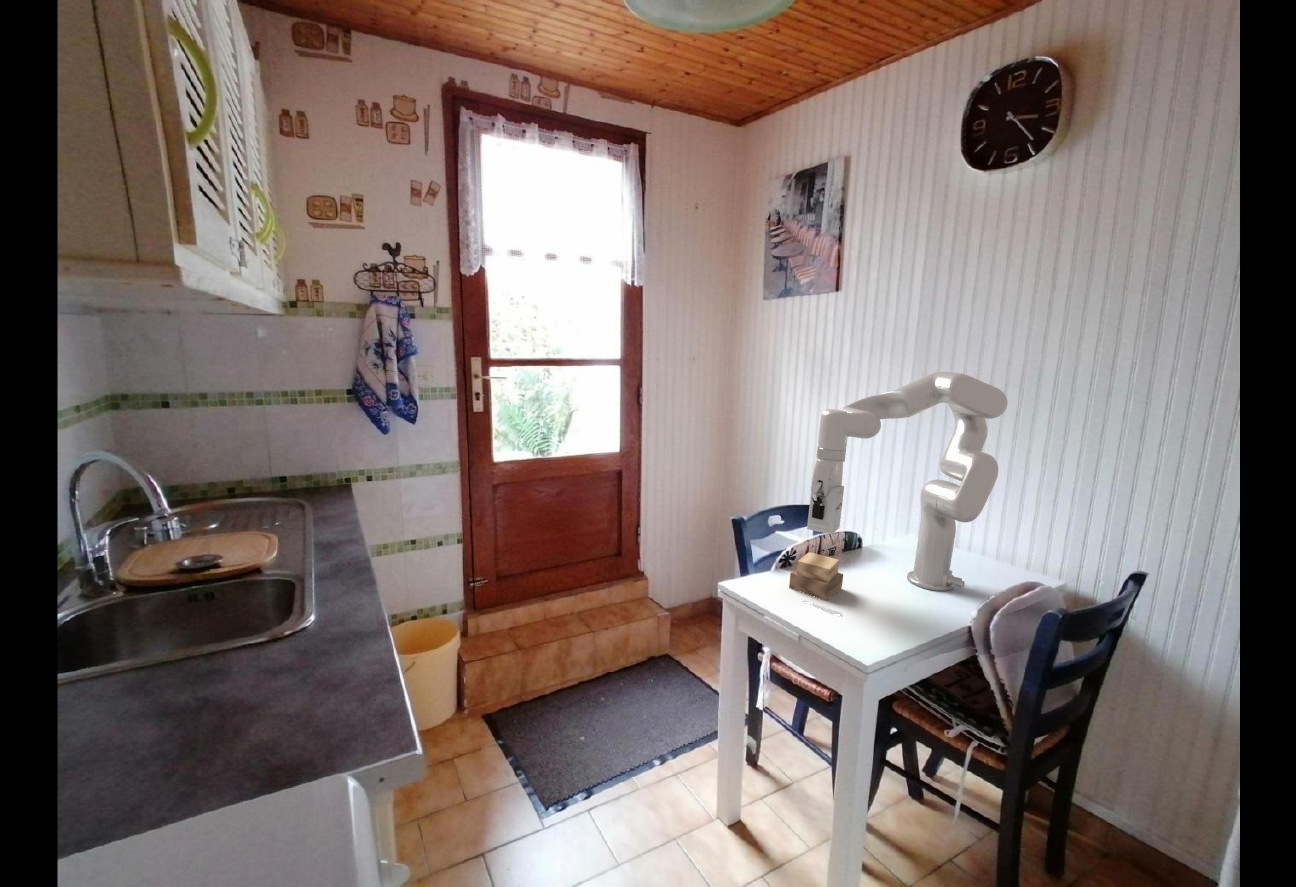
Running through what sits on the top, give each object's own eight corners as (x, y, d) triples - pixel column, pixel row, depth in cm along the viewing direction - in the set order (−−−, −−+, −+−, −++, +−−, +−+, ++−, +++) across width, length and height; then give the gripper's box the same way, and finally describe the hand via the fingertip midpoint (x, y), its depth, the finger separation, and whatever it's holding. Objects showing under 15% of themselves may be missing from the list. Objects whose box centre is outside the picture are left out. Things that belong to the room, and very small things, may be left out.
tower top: (837, 572, 161) (839, 559, 161) (828, 583, 154) (829, 569, 153) (807, 564, 166) (808, 552, 166) (796, 574, 159) (798, 560, 158)
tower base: (841, 590, 162) (843, 574, 161) (825, 602, 154) (827, 585, 153) (806, 578, 169) (807, 562, 168) (788, 589, 161) (790, 572, 160)
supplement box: (832, 535, 153) (837, 490, 151) (806, 529, 157) (810, 485, 155) (840, 528, 159) (845, 485, 157) (814, 523, 163) (818, 481, 161)
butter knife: (840, 617, 144) (845, 614, 146) (759, 587, 160) (765, 584, 162) (840, 619, 144) (844, 615, 146) (759, 588, 160) (765, 585, 162)
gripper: (831, 449, 163) (825, 506, 166) (803, 455, 150) (797, 518, 153) (856, 453, 158) (849, 512, 161) (830, 460, 145) (823, 525, 148)
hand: (824, 515), depth 157 cm, fingers closed on supplement box, 7 cm apart
